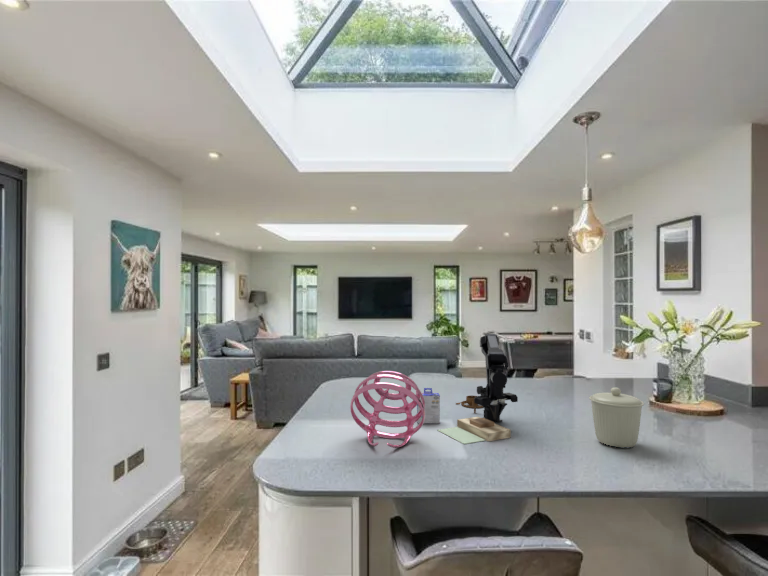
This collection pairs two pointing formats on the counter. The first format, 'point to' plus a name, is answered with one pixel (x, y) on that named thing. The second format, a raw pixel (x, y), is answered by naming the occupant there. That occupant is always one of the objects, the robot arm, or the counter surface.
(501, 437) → the board
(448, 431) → the sage mat
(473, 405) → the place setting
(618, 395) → the canister
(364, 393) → the spiral basket
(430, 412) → the ink cartridge box
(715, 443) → the counter surface
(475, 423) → the walnut coaster
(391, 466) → the counter surface
